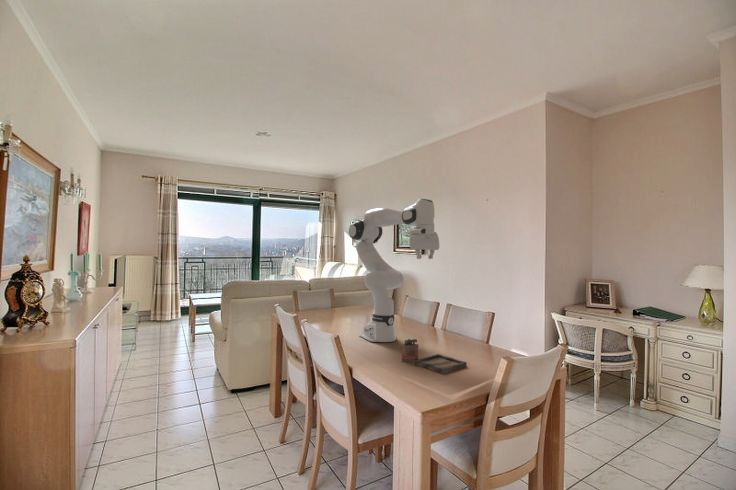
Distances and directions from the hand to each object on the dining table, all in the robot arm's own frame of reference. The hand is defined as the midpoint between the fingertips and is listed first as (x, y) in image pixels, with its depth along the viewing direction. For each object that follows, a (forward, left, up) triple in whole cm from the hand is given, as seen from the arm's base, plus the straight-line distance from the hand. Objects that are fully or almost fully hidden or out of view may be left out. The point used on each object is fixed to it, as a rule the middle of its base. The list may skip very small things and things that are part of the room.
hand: (424, 258), depth 175 cm
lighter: (+3, -13, -48) cm, 49 cm away
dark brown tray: (+16, -7, -47) cm, 50 cm away
